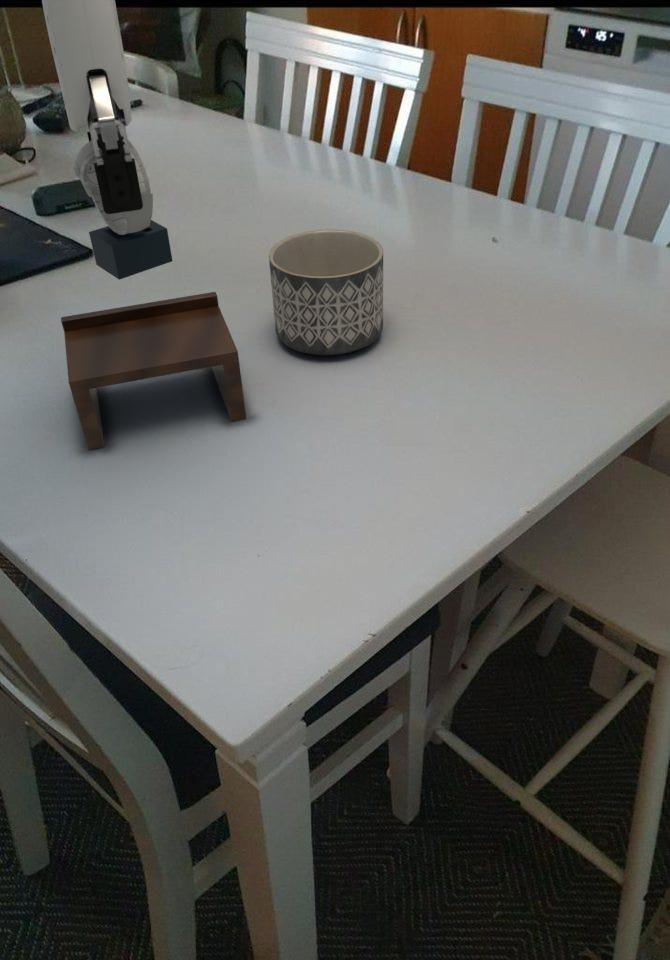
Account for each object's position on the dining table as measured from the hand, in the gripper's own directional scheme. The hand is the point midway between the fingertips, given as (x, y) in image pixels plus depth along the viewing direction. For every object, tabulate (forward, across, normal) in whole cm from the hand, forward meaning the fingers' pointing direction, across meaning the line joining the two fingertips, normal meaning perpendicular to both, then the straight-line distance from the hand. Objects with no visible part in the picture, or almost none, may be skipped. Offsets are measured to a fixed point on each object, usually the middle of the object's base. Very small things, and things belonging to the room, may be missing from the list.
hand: (119, 191), depth 70 cm
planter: (+23, -9, +21) cm, 33 cm away
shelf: (+23, -1, 0) cm, 23 cm away
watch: (+7, 0, 0) cm, 7 cm away
